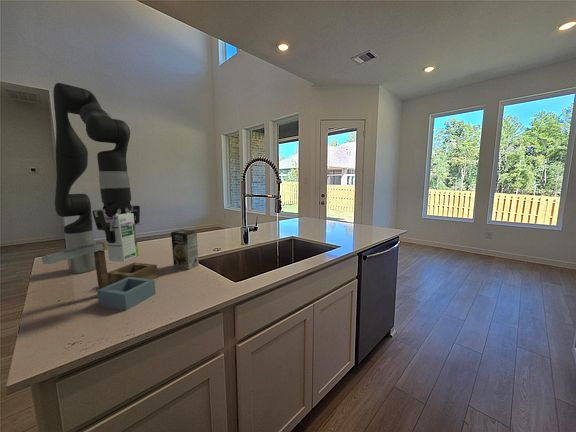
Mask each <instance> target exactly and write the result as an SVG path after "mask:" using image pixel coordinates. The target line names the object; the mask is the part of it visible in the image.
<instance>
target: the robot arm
mask: <svg viewBox="0 0 576 432" xmlns="http://www.w3.org/2000/svg"><path fill="white" fill-rule="evenodd" d="M53 105H54V108H53V109H54V118H55V166H56V167H55V168H56V169H55V170H56V183H55V194H54V195H55V196H54V210H55V213H56V214H57V215H58V217H62V218H63V217H64V218H65V217H66V218H69V217H77V216H78V219H76V220H75V221H73V222H71V223H69V224H66V225H65V226H63V232H64V239H65V244H66V250H70V249H74V248H78V247H82V246H86V245H90V244H94V243H95V237H94V230H93V220H94V223H95V226H96V229H97V230H98V231H104V234H105V233H106V236H105V240H107V242H108V243H115V242H116V240H115V232H114V231H113V230H114V224H115V217H113V215H120V214H124V213H125V214H127V213H133V215H134V223H135V225H137V224H139V223H140V222H141V221H140V218H141V216H140V214H141V211H140V210H141V207H140V205H132V204H131V201H132V192H131V183H130V177H129V174H128V173H129V172H128V167H127V166H128V165H127V164H128V163H127V151H128V147H129V142H130V137H131V129H130V127H129V125H128V124H127V122H125V121H124V120H121V119H117V118H112V117H111V116H110V114H108V112H106V111H105V110H104V109H103V108H102V107H101V105H100V102H99V101H98V99H97V98H96V95H94V93H93V92H92V91H90V90H88V89H86V88H83V87H78V86H74V85H70V84H66V83H62V82H56V83H55V85H54V86H53ZM69 114H73V115H79V117H80V119H81V121H82V123H84V125H85V132H86V135H87V136H88V138H89V139H90V140H92V141H94V142H98V143H107V144H115V146H114V148H113V149H109V150H102V151H99V152H97V156H96V157H97V167H98V173H99V174H98V181H99V182H98V183H99V191H100V196H101V197H100V198H101V202H102V203H103V207H102V208H101V209H98V210H97V209H96V210H95V209H94V210H93V211H92V205H91V199H90V197H89V196H88V194H86V193H70V192H71V188H72V186H73V185H74V184H75V182H76V181H77V180H78V179H79V178H80V177H81V176H82V175H83V174H84V173H85V171H86V170H87V168H88V161H89V159H88V157H89V150H88V148H87V147H86V145H85V144H84V142H83V140H82V139H81V138H80V136H79V135H78V134H77V133H76V131H75V130H74V128H73V127H72V124H71V122H70V120H69ZM105 215H107V216H108V217H113V219H112V220H107V218H105V217H104V216H105ZM109 223H110V226H109ZM67 266H68V271H69V273H70V274H84V273H88V272H91V271H94V270H95V271H96V265H95V258H94V252H92V253H89V254H85V255H82V256H78V257H75V258H71V259H67Z"/></svg>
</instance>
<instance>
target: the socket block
mask: <svg viewBox="0 0 576 432" xmlns="http://www.w3.org/2000/svg"><path fill="white" fill-rule="evenodd" d="M94 258H95V265H96V269H95V272H96V278H97V286H98V290H99V289H102V288H104V287H106V286H108V285H111V284H113V283H115V282H118V281H120V280H122V279H125V278H127V277H136V278H144V279H152V280H155V279H156V278H158V277H159V275H158V274H159V273H158V265H157V264H151V263H141V262H132V263H129V264H126V265H124V266H121V267H119V268H115V269H113V270H110V271H108V270H107V260H106V255H105V250H99V251H96V252H94Z"/></svg>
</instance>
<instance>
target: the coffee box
mask: <svg viewBox="0 0 576 432" xmlns="http://www.w3.org/2000/svg"><path fill="white" fill-rule="evenodd" d="M170 235H171V237H170V238H171V246H172V247H171V248H172V259H173V260H172V261H173V262H172V263H173V267H174V268H178V269H183V270H191V269H195V268H196V267H198V266H199V251H198V250H199V249H198V247H199V246H198V232H197V231H196V230H189V229H188V230H187V229H180V230H174V231H171V232H170Z"/></svg>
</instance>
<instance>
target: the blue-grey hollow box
mask: <svg viewBox="0 0 576 432" xmlns="http://www.w3.org/2000/svg"><path fill="white" fill-rule="evenodd" d="M155 283H156V282H155V279H144V278H136V277H127V278H125V279H122V280H120V281H118V282H115V283H113V284H111V285H108V286H106V287H104V288H102V289H99V288H98V290H96V293H97V299H98V306H100V307H106V308H111V309H118V310H122V311H128V310H130V309H132V308H133V307H135V306H136V305H139V304H140V303H142V302H144V301H145V300H147V299H149V298H150V297H152V296H154V295H156V294H157V293H156V284H155Z"/></svg>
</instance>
